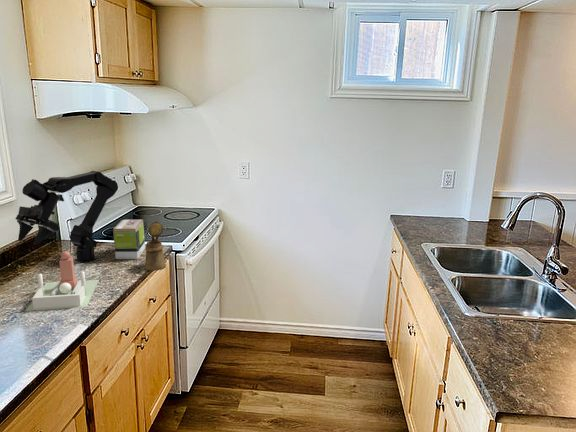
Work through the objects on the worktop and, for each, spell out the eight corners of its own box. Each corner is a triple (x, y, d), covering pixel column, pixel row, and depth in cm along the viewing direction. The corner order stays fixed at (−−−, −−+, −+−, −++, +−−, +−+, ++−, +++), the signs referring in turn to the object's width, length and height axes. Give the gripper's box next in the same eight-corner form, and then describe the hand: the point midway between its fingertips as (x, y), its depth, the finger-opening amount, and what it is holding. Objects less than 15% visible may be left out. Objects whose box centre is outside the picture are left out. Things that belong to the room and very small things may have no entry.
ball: (67, 289, 162) (66, 279, 161) (74, 292, 160) (73, 282, 159) (57, 293, 159) (56, 283, 158) (64, 296, 157) (63, 286, 156)
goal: (41, 297, 156) (38, 273, 153) (86, 294, 159) (84, 271, 157) (32, 309, 147) (29, 284, 145) (81, 305, 150) (79, 281, 148)
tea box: (124, 248, 209) (122, 218, 205) (145, 248, 210) (144, 218, 206) (114, 259, 195) (112, 227, 191) (138, 259, 196) (136, 228, 192)
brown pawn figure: (168, 259, 197) (167, 221, 192) (164, 270, 184) (162, 229, 179) (148, 259, 196) (146, 221, 191) (142, 271, 183) (140, 230, 178)
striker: (62, 285, 165) (59, 250, 161) (77, 284, 166) (73, 249, 162) (60, 290, 161) (56, 254, 158) (74, 289, 162) (71, 253, 159)
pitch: (46, 283, 168) (45, 279, 167) (99, 280, 172) (98, 276, 172) (25, 312, 146) (24, 306, 145) (86, 307, 150) (86, 302, 149)
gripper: (13, 194, 170) (-7, 230, 165) (45, 200, 162) (24, 238, 157) (37, 206, 179) (18, 241, 174) (68, 212, 171) (49, 249, 166)
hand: (27, 242), depth 167 cm, fingers open, 9 cm apart
